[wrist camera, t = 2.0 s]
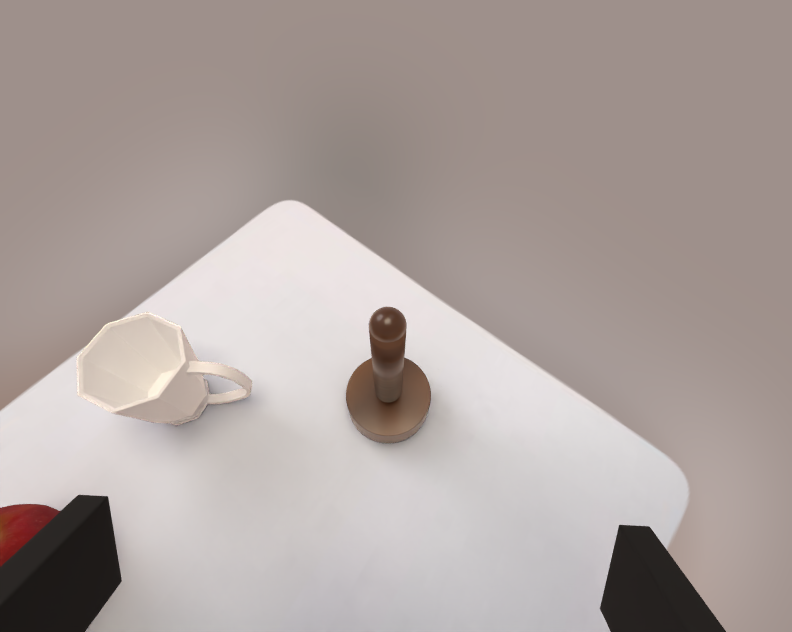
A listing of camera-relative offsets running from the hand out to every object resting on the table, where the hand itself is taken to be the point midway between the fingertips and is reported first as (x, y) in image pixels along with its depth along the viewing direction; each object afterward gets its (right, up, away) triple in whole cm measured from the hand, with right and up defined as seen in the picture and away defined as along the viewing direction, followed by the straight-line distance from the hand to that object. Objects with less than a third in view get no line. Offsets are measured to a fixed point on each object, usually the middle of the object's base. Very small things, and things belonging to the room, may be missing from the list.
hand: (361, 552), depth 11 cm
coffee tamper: (0, -1, +23) cm, 23 cm away
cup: (-15, -1, +24) cm, 28 cm away
